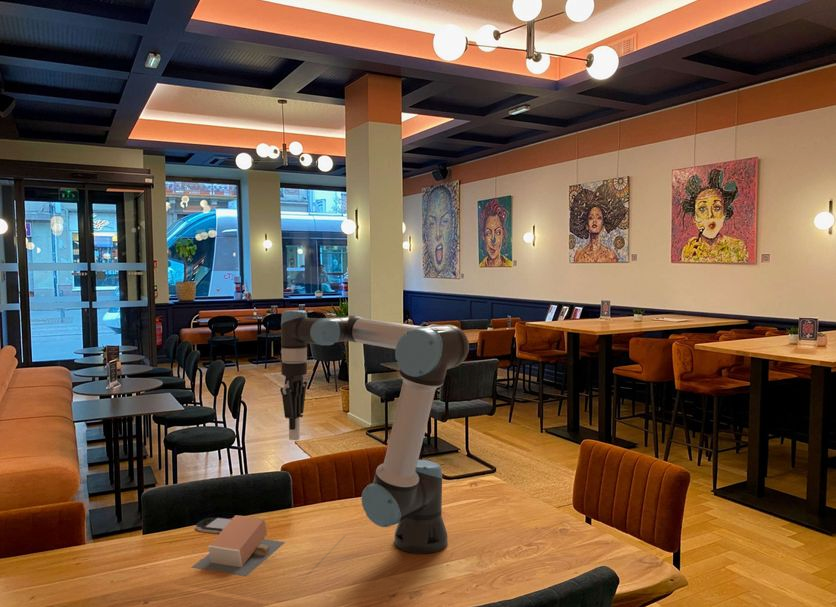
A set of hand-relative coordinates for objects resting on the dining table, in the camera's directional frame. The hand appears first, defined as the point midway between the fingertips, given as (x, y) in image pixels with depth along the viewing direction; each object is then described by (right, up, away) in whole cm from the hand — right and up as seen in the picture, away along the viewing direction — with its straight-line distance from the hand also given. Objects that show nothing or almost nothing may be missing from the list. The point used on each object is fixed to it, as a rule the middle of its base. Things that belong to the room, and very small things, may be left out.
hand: (294, 439), depth 181 cm
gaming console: (-19, -27, -3) cm, 33 cm away
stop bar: (-10, -26, -18) cm, 33 cm away
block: (-9, -20, -15) cm, 27 cm away
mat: (-10, -27, -20) cm, 35 cm away
